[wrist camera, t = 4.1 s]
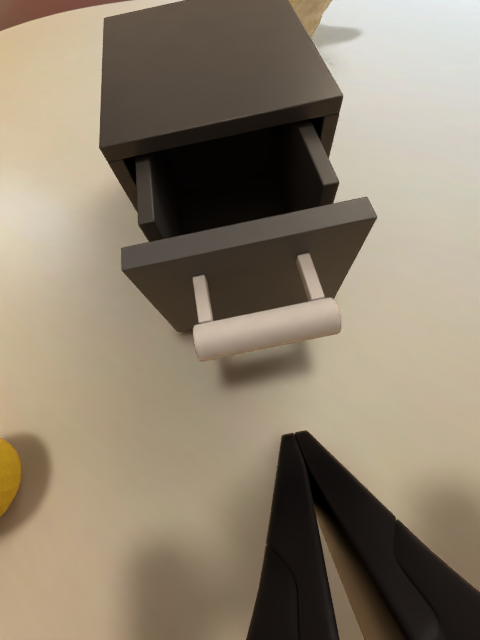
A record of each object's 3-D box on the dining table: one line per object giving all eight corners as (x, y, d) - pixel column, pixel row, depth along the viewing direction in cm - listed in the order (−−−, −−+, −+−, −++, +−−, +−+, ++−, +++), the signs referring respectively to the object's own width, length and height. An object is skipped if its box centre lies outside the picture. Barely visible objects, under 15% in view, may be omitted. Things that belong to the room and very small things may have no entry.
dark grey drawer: (353, 356, 17) (421, 301, 9) (183, 391, 17) (121, 363, 9) (287, 174, 23) (297, 58, 16) (164, 200, 23) (119, 97, 16)
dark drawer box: (311, 231, 22) (344, 95, 13) (166, 262, 22) (98, 147, 13) (273, 127, 27) (277, -21, 18) (156, 152, 27) (103, 17, 18)
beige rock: (201, 67, 36) (239, -12, 23) (196, -10, 33) (237, -151, 20) (300, 81, 40) (378, 22, 27) (303, 15, 37) (393, -86, 24)
